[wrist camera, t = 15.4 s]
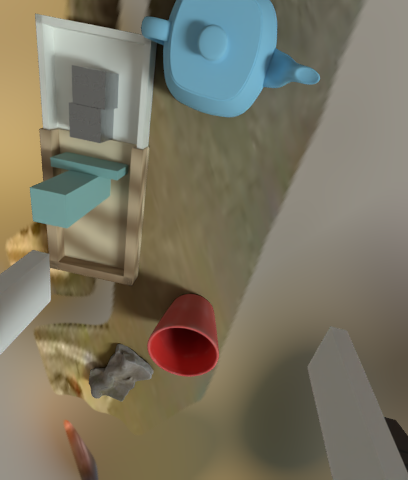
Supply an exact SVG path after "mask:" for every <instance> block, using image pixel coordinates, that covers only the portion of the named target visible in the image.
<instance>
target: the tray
mask: <svg viewBox="0 0 408 480" xmlns="http://www.w3.org/2000/svg"><path fill="white" fill-rule="evenodd" d="M35 19H36V33H37V48H38V62H39V76H40V89H41V104H42V117H43V129H47V130H51V129H56V128H59V129H64V130H69V131H70V128H69V103H70V102H73V98H72V65H74V66H80V67H86V68H91V69H96V70H101V71H106V72H111V73H116V74H119V84H118V108H115V109H114V123H113V139H112V140H117V141H122V142H127V143H131V144H136V145H137V148H139V149H144V148H146V147H148V141H149V130H150V119H151V107H152V96H153V84H154V73H155V61H156V50H157V43H156V42H154V41H152V40H149V39H147V38H145V37H144V36H143V35H141V34H136V33H131V32H126V31H121V30H116V29H111V28H106V27H101V26H96V25H91V24H85V23H80V22H75V21H70V20H65V19H60V18H55V17H50V16H45V15H39V14H35Z"/></svg>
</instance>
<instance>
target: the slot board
mask: <svg viewBox="0 0 408 480" xmlns="http://www.w3.org/2000/svg"><path fill="white" fill-rule="evenodd" d="M39 130H40V143H41V156H42V170H43V181H46V180H48V179H50V178H53V177H55V176H57V175H60V174H62V173H64V172H66V171H69V170H66V169H61V168H56V167H52V166H51V159H50V157H53V156H56V155H59V154H62V153H65V152H70V153H75V154H80V155H84V156H89V157H94V158H99V159H103V160H108V161H113V162H118V163H122V164H127V165H129V166H128V174H126V175H125V176H123V177H122V178H120V179H119V180H113V179H111V188H110V196H109V197H108V198H107V199H106V200H104V201H103V202H102V203H100V204H99V205H98V206H96V207H95V208H94V209H92V210H91V211H90V212H88V213H87V214H86V215H84V216H83V217H82V218H80V219H79V220H78V221H76V222H75V223H74V224H73V225H71V226H70V227H69V228H62V227H58V226H53V225H48V224H47V236H48V249H49V262H50V268H54V269H58V270H63V271H67V272H72V273H76V274H81V275H85V276H90V277H94V278H99V279H103V280H108V281H112V282H116V283H121V284H125V285H130V286H132V285H133V283H134V282H135V280H136V278H137V277H138V269H139V258H140V247H141V236H142V225H143V213H144V202H145V191H146V180H147V169H148V157H149V146H148V147H146V148H144V149H139V148H137V145H136V144H131V143H127V142H122V141H117V140H112V139H111V140H109V141H106V142H103V143H97V142H92V141H87V140H82V139H78V138H73V137H70V131H69V130H64V129H59V128H56V129H51V130H47V129H43V128H41V129H39Z"/></svg>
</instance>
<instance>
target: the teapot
mask: <svg viewBox="0 0 408 480" xmlns="http://www.w3.org/2000/svg"><path fill="white" fill-rule="evenodd" d="M141 29H142V30H141V31H142V35H143V36H144V37H145V38H147V39H149V40H152V41H154V42H156V43H159V44H161V45H164V48H163V64H164V75H165V80H166V84H167V87H168V89H169V91H170V92H171V94H172V95H173V96H174V97H175V98H176V99H177V100H178V101H179V102H181V103H183V104H185V105H187V106H189V107H191V108H193V109H195V110H198V111H200V112H203V113H207V114H211V115H216V116H223V117H235V116H238V115H240V114H242V113H244V112H245V111H246V110H247V109H249V108H250V106H251V105H252V104H253V103H254V101H255V100H256V98H257V97H258V95H259V94H260V92H261V90H262V89H263V87H270V88H279V87H282V86H284V85H286V84H287V83H289V82H299V83H303V84H315V83H317V82H318V81H319V80H320V76H319V74H318V73H317V72H316V71H315V70H313V69H312V68H310V67H307V66H304V65H301V64H298V63H296V62H295V61H294V60H293V59H292V58H291V57H290V56H289V55H287V54H285V53H283V52H281V51H280V50H278V49H276V42H277V18H276V12H275V9H274V7H273V5H272V3H271V1H270V0H176V2H175V4H174V7H173V9H172V12H171V14H170V17H169V20H164V19H160V18H156V17H150V16H146V17H145V18H144V19H143V21H142V27H141Z"/></svg>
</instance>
